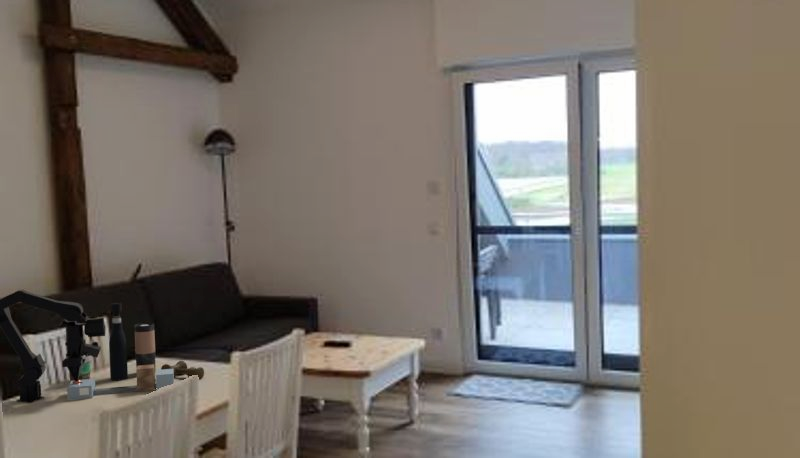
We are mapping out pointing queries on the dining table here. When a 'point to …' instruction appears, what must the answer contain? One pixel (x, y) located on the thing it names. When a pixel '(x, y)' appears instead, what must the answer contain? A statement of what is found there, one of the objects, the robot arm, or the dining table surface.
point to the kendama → (185, 369)
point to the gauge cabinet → (81, 389)
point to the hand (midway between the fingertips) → (76, 380)
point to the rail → (116, 390)
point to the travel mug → (145, 344)
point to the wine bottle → (117, 346)
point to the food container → (84, 369)
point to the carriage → (145, 377)
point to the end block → (164, 377)
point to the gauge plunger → (76, 382)
